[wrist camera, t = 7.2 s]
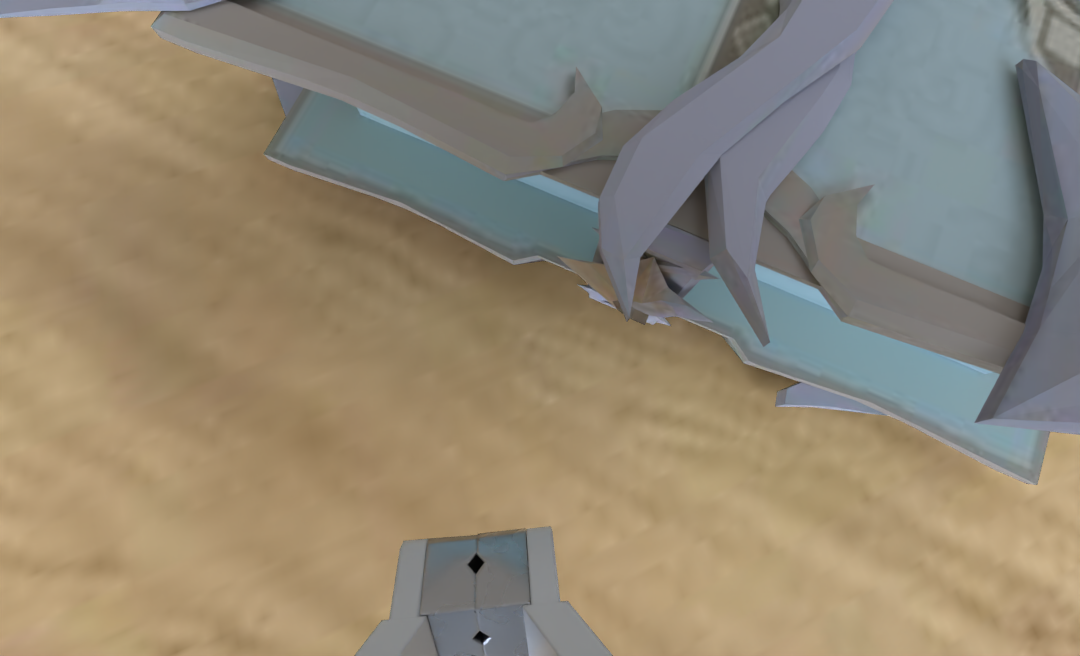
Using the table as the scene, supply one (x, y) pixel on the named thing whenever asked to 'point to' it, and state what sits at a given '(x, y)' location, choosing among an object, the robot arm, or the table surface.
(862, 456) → the table surface
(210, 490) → the table surface
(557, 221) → the ornate book
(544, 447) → the table surface
